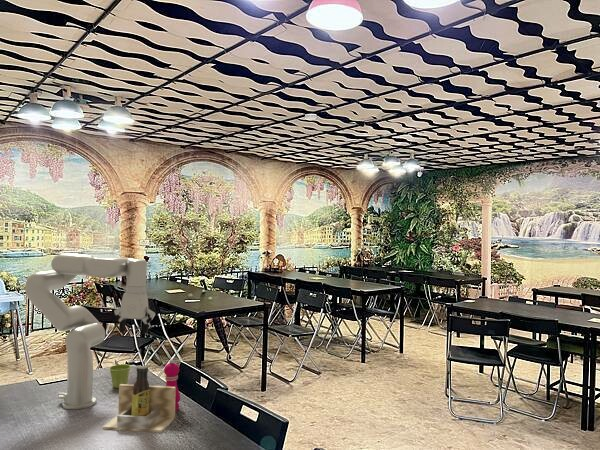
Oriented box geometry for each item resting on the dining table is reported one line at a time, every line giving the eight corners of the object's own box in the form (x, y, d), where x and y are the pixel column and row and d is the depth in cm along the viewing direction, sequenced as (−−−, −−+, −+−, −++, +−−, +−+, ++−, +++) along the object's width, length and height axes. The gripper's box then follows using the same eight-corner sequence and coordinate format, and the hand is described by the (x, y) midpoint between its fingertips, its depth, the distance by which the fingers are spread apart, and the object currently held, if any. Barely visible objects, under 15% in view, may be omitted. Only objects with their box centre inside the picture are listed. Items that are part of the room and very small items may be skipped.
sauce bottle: (138, 426, 169) (139, 371, 169) (127, 422, 172) (128, 368, 172) (153, 420, 174) (154, 366, 175) (142, 416, 178) (143, 364, 178)
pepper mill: (175, 413, 183) (176, 362, 183) (158, 411, 184) (159, 361, 185) (183, 406, 190) (184, 357, 191) (166, 405, 192) (167, 356, 192)
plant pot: (125, 389, 210) (126, 370, 210) (105, 389, 210) (105, 369, 210) (133, 383, 219) (134, 364, 220) (113, 382, 220) (114, 364, 220)
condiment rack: (102, 429, 168) (103, 395, 168) (120, 415, 181) (120, 384, 181) (161, 432, 165) (162, 398, 166) (175, 418, 178) (175, 386, 179)
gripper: (111, 289, 186) (108, 332, 186) (151, 292, 183) (149, 336, 183) (121, 287, 193) (118, 328, 193) (160, 290, 190) (158, 332, 190)
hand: (133, 332), depth 188 cm, fingers open, 9 cm apart
